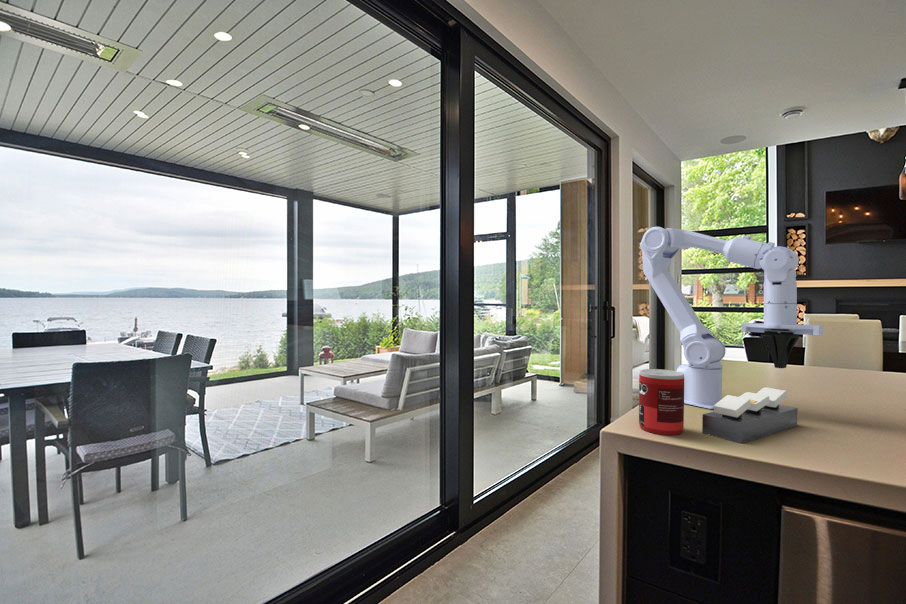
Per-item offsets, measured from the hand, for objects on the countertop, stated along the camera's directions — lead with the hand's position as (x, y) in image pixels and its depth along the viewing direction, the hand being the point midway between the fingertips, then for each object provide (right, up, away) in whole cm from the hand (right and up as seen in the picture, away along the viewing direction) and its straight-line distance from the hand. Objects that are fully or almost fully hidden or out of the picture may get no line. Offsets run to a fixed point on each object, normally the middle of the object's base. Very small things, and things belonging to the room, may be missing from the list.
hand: (780, 367), depth 98 cm
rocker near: (-18, -5, -13) cm, 23 cm away
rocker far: (-6, -5, -6) cm, 10 cm away
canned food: (-30, -11, -9) cm, 33 cm away
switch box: (-9, -10, -7) cm, 16 cm away
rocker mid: (-12, -5, -9) cm, 16 cm away
